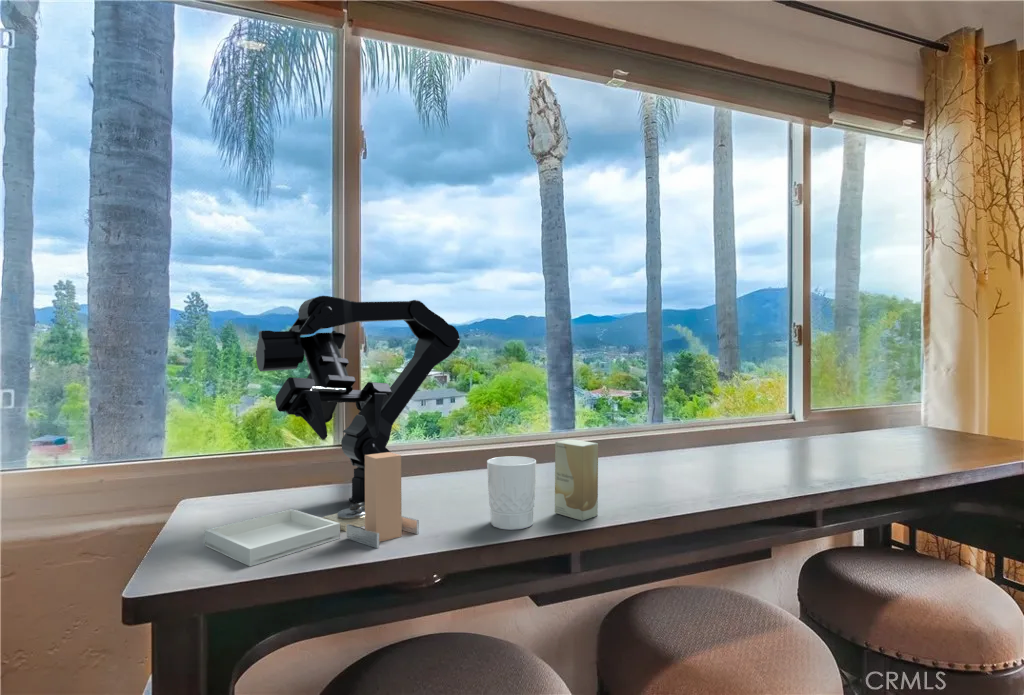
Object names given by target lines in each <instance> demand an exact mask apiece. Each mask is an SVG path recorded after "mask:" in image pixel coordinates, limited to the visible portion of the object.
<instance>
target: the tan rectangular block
mask: <svg viewBox="0 0 1024 695" xmlns="http://www.w3.org/2000/svg"><path fill="white" fill-rule="evenodd" d="M364 508H365V526H364V529H367V530H370V531H374V532H377V533H379V543H381V542H385V541H390V540H392V539H398V538H401V537H402V533H403V532H402V531H403V530H402V516H403V515H402V454H399V453H398V454H397V453H394V452H391V451H390V452H386V453H378V454H369V455H365V507H364Z"/></svg>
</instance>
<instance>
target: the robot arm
mask: <svg viewBox="0 0 1024 695" xmlns="http://www.w3.org/2000/svg"><path fill="white" fill-rule="evenodd" d="M297 316H298V317H297V319H296V320H295V322H294V323H293V324H292V325H291V327H290V328H289V329H288V330H287V331H286V330H285V331H284V330H282V331H281V330H280V331H275V330H259V331H258V340H257V344H256V350H255V360H256V366H257V368H258V371H260V372H273V371H275V372H276V371H284V370H285V371H286V370H297V368H298V367H299V364H302V363H303V362H304V361H305V360H306V363H307V367H308V369H309V372H310V373H309V374H308V376H307V377H293V376H289V377H288V378H287V379H286V380H285V382H284V383H283V384H282V385H281V387H280V389H279V391H278V392H277V394H276V395H275V400H274V402H275V405H276V409H277V410H278V412H282V413H283V412H284V413H285V412H286V414H287V415H289V416H290V415H292V416H295V417H297V418H302V419H303V420H304V421H305V422H306V423H307V424H308V425H309V426H310V427H311V429H312V430H313V431H314V432H315V433H316V434H317V436H318V437H319V438H320V439H321V440H322V441H323V440H326V439H327V438H328V428H327V423H330V422H331V421H332V419H333V417H334V413H335V410H336V407H337V404H338V403H355V405H356V408H357V410H359V412H358V414H355V416H353V419H352V421H351V423H350V425H348V427H347V428H345V429H343V431H342V433H344V435H343V436H342V439H341V442H340V443H341V450H342V452H343V454H344V455H345V456H346V457H348V458H349V460H350V463H351V465H352V466H354V467H356V468H353V477H352V478H351V497H349V498H348V502H352V503H354V504H356V503H360V502H363V501H365V455H369V454H378V453H386V452H391V451H390V450H389V449H388V448H387V445H388V443H389V441H390V438H391V433H392V429H393V425H394V423H395V422H396V421H397V419H398V418H399V416H400V415H401V414H402V412H403V411H404V409H405V408H406V407H407V405H408V404H409V403H410V401H411V399H412V398H413V397H414V395H415V394H416V393H417V391H418V390H419V389H420V387H421V385H423V382H424V381H425V380H426V378H427V377H428V375H429V374H430V373H431V372H432V370H433V369H434V368H435V367H436V366H437V365H439V364H440V363H442V362H443V361H444V360H446V359H448V357H450V355H452V354H453V353H454V352H455V351H456V350H457V349H458V348H459V345H460V342H461V339H460V334H459V332H458V329H457V328H456V327H455V326H453V325H452V324H449V323H448V322H447V321H446V320H445V319H444V318H443V317H441V316H440V315H438V314H436V312H433V311H432V310H430V308H428V307H427V306H426V305H425V304H424V302H422V301H421V300H418V299H413V300H409V301H408V300H407V301H405V300H403V301H402V300H400V301H397V300H396V301H353V300H349V299H346V298H341V297H335V296H330V295H319V296H316V297H312V298H309V299H307V300H305V301H304V302H302V304H300V306H299V309H298V313H297ZM390 321H391V322H393V321H404V322H405V323H406V324H407V325H408V327H409V329H410V331H411V333H412V334H413V336H415V337H416V338H417V341H416V343H415V348H414V353H413V356H412V358H411V359H410V360H409V361H408V363H407V364H406V366H405V367H404V369H403V370H402V371H401V372H400V374H399V375H398V377H396V379H395V381H394V382H393V383H392V384H391V385H390V384H389V383H385V382H376V381H375V382H374V381H367V383H366V384H365V386H364V387H363V388H362V389H354V387H353V385H354V384H355V383H356V378H355V376H349V374H348V371H347V369H346V367H347V366H348V364H349V360H348V358H345V357H342V355H341V353H340V350H341V349H342V348H343V345H344V343H345V340H346V337H347V335H346V334H344V333H342V332H337V331H335V330H332V331H331V332H318V331H319V330H324V329H330V328H335V327H339V326H344V325H347V324H352V323H365V322H366V323H367V322H369V323H370V322H390ZM310 335H311V336H310ZM304 359H305V360H304Z"/></svg>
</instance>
